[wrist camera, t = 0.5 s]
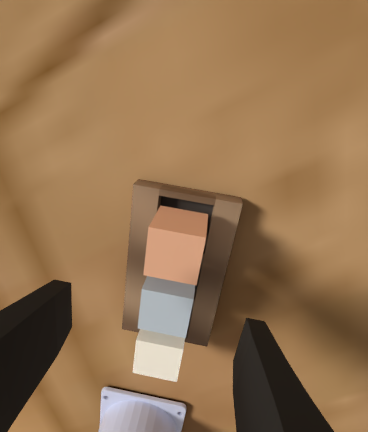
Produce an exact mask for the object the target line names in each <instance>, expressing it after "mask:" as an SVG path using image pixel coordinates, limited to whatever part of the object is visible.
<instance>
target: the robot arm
mask: <svg viewBox="0 0 368 432" xmlns="http://www.w3.org/2000/svg"><path fill="white" fill-rule="evenodd" d="M71 328H72V305H71V283H69V282H64V281H59V280H53V281H51V282H49V283H47V284H46V285H44V286H42V287H41V288H39V289H37V290H35V291H34V292H32V293H30V294H29V295H27V296H25V297H23V298H22V299H20V300H18V301H17V302H15V303H13V304H11V305H10V306H8V307H6V308H4V309H2V310H1V311H0V432H8V430H9V428H10V427H11V425H12V424H13V422H14V420H15V419H16V417H17V416H18V414H19V413H20V411H21V410H22V408H23V407H24V405H25V404H26V402H27V401H28V399H29V398H30V396H31V395H32V393H33V392H34V390H35V389H36V387H37V386H38V384H39V383H40V381H41V380H42V378H43V377H44V375H45V374H46V372H47V371H48V369H49V368H50V366H51V365H52V363H53V361H54V360H55V358H56V357H57V355H58V353H59V351H60V350H61V348H62V346H63V344H64V342H65V340H66V338H67V336H68V334H69V332H70V330H71ZM233 398H234V409H235V419H236V430H237V432H334V431H333V429H332V428H331V427H330V425H329V424H328V422H327V421H326V420H325V418H324V417H323V415H322V414H321V412H320V411H319V409H318V408H317V407H316V405H315V404H314V402H313V401H312V399H311V398H310V396H309V395H308V393H307V392H306V390H305V388H304V387H303V385H302V384H301V382H300V381H299V379H298V377H297V376H296V374H295V373H294V371H293V369H292V368H291V366H290V364H289V363H288V361H287V359H286V358H285V356H284V354H283V353H282V351H281V349H280V347H279V346H278V344H277V342H276V340H275V339H274V337H273V335H272V333H271V332H270V330H269V328H268V326H267V324H266V323H265V322H264V321H260V320H255V319H250V318H246V321H245V324H244V327H243V331H242V334H241V337H240V340H239V344H238V347H237V350H236V353H235V357H234V360H233ZM186 408H187V407H186V405H185V404H184V403H181V402H176V401H171V400H167V399H162V398H157V397H153V396H148V395H144V394H139V393H134V392H130V391H125V390H120V389H116V388H111V387H104V388H103V389H102V392H101V411H100V428H99V431H98V432H181V431H182V426H183V422H184V418H185V414H186Z"/></svg>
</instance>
